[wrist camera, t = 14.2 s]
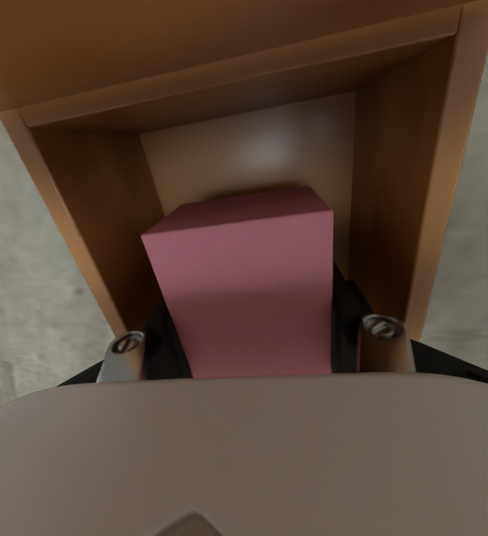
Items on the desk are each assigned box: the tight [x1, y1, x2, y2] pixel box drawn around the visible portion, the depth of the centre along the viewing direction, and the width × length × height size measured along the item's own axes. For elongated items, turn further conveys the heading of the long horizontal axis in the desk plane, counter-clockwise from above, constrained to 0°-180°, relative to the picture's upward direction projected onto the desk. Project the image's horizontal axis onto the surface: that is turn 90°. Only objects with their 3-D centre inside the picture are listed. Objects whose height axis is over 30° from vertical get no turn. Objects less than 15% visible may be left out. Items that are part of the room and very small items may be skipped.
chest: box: [0, 0, 488, 378], centre depth 12 cm, size 14×12×7 cm
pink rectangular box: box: [141, 186, 333, 378], centre depth 11 cm, size 9×6×4 cm, turn 9°
